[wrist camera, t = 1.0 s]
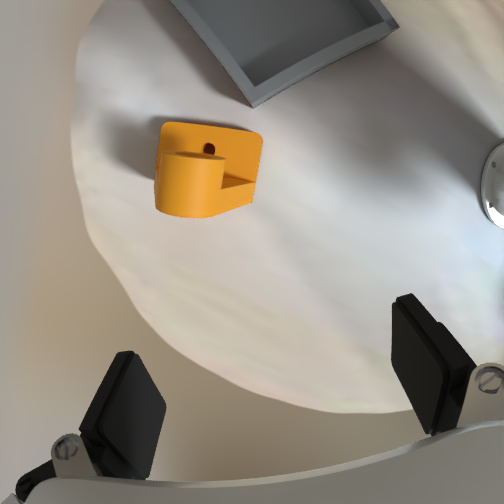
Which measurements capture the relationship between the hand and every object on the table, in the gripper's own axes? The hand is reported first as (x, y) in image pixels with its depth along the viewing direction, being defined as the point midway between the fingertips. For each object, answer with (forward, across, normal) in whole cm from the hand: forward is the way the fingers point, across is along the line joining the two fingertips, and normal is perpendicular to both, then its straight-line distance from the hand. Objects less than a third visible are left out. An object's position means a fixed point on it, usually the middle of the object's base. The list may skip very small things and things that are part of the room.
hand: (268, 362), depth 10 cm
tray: (+26, -7, -23) cm, 36 cm away
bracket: (+27, +4, -6) cm, 28 cm away
